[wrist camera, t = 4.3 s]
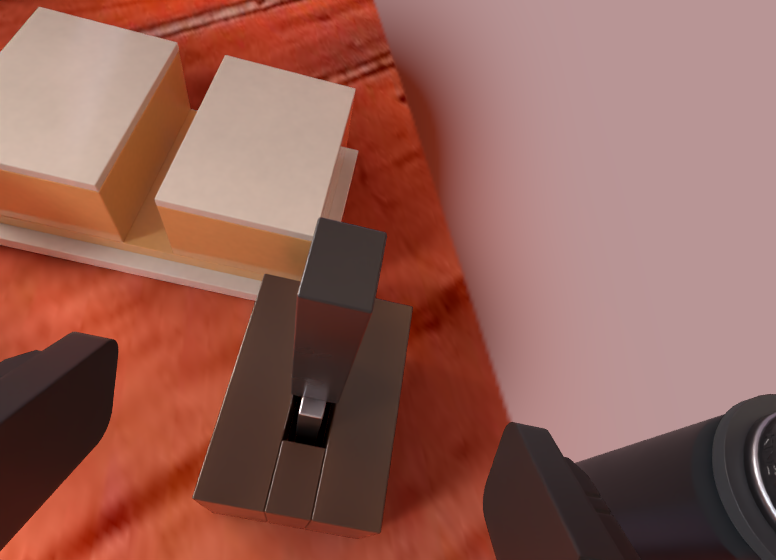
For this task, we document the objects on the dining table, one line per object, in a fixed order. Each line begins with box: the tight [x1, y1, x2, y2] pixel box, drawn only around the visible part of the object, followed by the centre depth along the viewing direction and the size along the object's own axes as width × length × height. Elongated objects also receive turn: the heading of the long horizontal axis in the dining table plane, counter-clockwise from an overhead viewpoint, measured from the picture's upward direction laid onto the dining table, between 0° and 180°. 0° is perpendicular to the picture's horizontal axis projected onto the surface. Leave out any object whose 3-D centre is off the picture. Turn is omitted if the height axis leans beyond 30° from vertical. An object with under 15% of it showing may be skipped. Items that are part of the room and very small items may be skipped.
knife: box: [291, 217, 387, 446], centre depth 22 cm, size 2×4×19 cm, turn 171°
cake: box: [0, 7, 358, 301], centre depth 33 cm, size 22×14×8 cm, turn 81°
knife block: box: [192, 274, 413, 539], centre depth 27 cm, size 8×11×7 cm
